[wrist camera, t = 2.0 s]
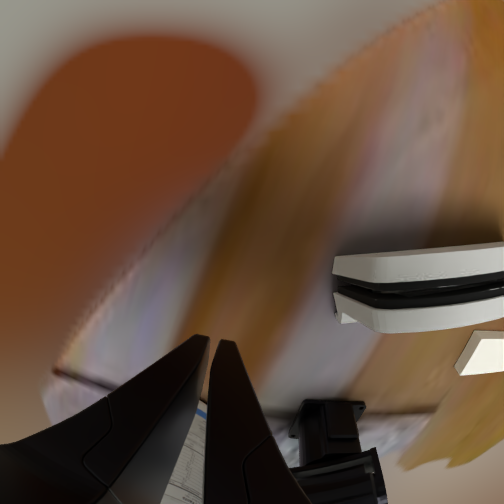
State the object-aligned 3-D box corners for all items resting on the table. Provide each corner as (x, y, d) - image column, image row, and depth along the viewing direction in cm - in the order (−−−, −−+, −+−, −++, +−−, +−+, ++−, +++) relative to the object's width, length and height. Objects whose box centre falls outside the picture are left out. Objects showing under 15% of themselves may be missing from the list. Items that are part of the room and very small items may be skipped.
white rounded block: (330, 319, 21) (366, 372, 11) (327, 256, 21) (366, 260, 11) (495, 293, 19) (569, 308, 9) (494, 241, 19) (571, 238, 9)
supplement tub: (177, 442, 28) (148, 540, 15) (121, 396, 26) (67, 499, 12) (241, 427, 26) (223, 550, 12) (181, 373, 24) (128, 516, 10)
